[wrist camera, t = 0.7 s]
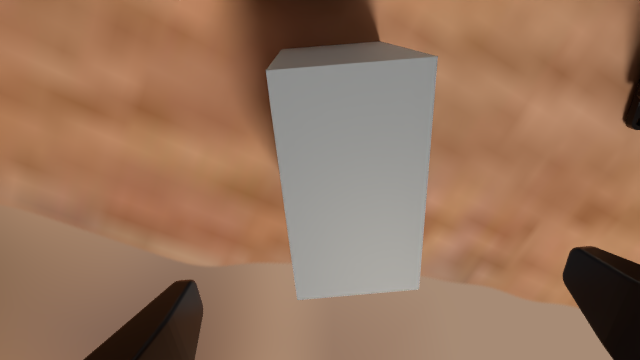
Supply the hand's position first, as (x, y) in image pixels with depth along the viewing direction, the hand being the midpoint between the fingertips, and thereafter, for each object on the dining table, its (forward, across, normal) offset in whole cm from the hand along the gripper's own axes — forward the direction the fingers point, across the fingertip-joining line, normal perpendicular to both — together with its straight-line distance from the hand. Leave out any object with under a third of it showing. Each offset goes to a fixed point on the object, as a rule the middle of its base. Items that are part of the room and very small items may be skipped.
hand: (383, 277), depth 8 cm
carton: (+12, 0, 0) cm, 12 cm away
